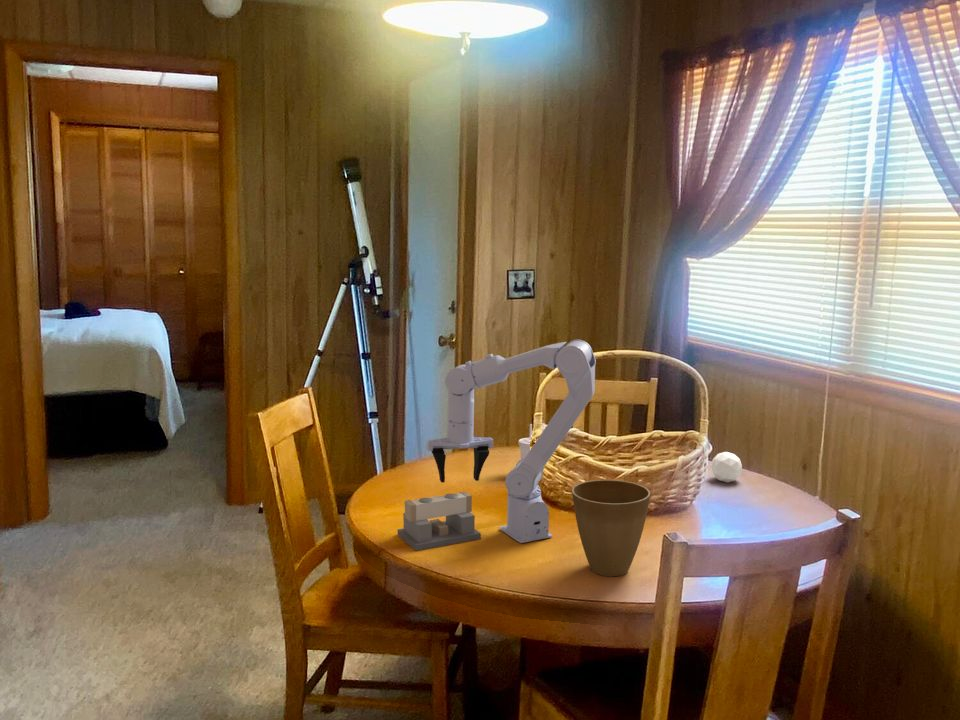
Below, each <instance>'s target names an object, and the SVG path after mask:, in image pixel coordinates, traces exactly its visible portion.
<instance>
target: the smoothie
mask: <svg viewBox="0 0 960 720" xmlns="http://www.w3.org/2000/svg"><path fill="white" fill-rule="evenodd" d="M532 430H533V424H532V423H529V437H523V438H520V439H518V442H517V443H518V446H519V451H520V454H519V455H520V460H521V459H523V458H525V457H526V455H527V454H528V452H529V451H530V441H531V435H532V434H533V431H532ZM532 436H533V435H532Z"/></svg>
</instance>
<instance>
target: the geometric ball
mask: <svg viewBox="0 0 960 720" xmlns="http://www.w3.org/2000/svg"><path fill="white" fill-rule="evenodd" d="M710 468H711V472H712V475H713V476H714V477H715V479H717V480H718V481H721V482H725V483H731V482H735V481H736V480H737V479H738V478H739V477H740V476H741V475H742V469H743V465H742V462H741V458H739V456H737V455H736V454H735V453H732V452H728V451H723V452H719V453H717V454H716V455H715V456H714V457H713V458H712V461H711V465H710Z"/></svg>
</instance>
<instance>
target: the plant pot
mask: <svg viewBox="0 0 960 720" xmlns="http://www.w3.org/2000/svg"><path fill="white" fill-rule="evenodd" d="M571 492H572V501H573V502H572V503H573V508H574V514H575V520H576V526H577V530H578V535H579V538H580V540H581V541H580V542H581V544H582V548H583V551H584V554H585V558H586V560H587V563H588V565H589V568H590V570H591V571H592V572H593V573H595V574H597V575H600V576H603V577H619V576H623V575H626V574H627V573H628V572H629V570H630V568H631V566H632V563H633V561H634V559H635V555H636V553H637V550H638V547H639V545H640V542H641V541H640V540H641V538H642V534H643V531H644V527H645V523H646V520H647V515H648V510H649V505H650V497H651V492H650V489H648V488H647V487H645V486H644V485H641V484H638V483H636V482H631V481H626V480H618V479H596V480H594V479H593V480H587V481H583V482H580V483H578V484H576V485H574V486H573V487H572V489H571Z"/></svg>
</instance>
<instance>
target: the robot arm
mask: <svg viewBox="0 0 960 720" xmlns="http://www.w3.org/2000/svg"><path fill="white" fill-rule="evenodd" d="M564 345H565V346H564ZM596 365H597V360H596V357H595V354H594V352H593V349H592V347H591V345H590V344H589V343H588V342H586V341H585V340H582V339H574V340H571V341H570V342H568V343H567V341H562V342H557V343H552V344H548V345H544V346H542V347H538V348H535V349H531V350H529V351H525V352H523V353H519V354H517V355H514V356H513V355H512V356H510V357H508V358H505V357H503V356H501V355H498V354H496V355H493V353H490V354H487V355H485V358H483V359H480V360H476V361H473V362H472V360H468V361H466V362H465V364H459V365H457V366H456V367H454V368H452V369H450V370H449V371H448V372H447V373H446V375H445V379H444V384H445V387H446V389H447V391H448V395H447V397H448V398H447V424H446V425H447V426H446V427H447V429H446V431H447V432H446V433H447V434H446V437H442V438H436V439H435V438H434V439H427V440H426V450H427V451H428V452H431V453H432V455H433V458H434V461H435V463H436V467H437V470H438V471H437V472H438V475H439V477H438V478H439V481H440V483H445V482H446V477H445V476H446V475H445V474H446V472H445V471H446V469H445V467H446V466H445V465H446V458H447V457H446V456H447V455H446V454H445V450H458V449H459V450H460V449H473V459H474V460H473V463H474V464H473V480H475V482H477V481H479V480H480V475H481V472H482V470H483V467H484V464H485V462H486V460H487V459H488V457H489V455H490V450H489V449H493V448H494V438H492V437H483V436H482V437H481V436H480V437H479V436H474V432H475V431H474V425H475V423H474V422H475V421H474V420H475V418H474V417H475V389H481V388H484V387H488V386H492V385H495V384H499V383H501V382H502V383H503V382H505V381H506V380H507V379H508V376H509V375H510V374H512V373H515V372H520V371H525V370H528V369H531V368H532V369H533V368H535V367H540V366H545V367H547V368H549V369H550V370H555V369H556V368H557V370H558V371H559V372H560V374H561V375H562V376H563V378H564V380H565V383H566V386H567V389H568V394H567V395H566V396H565V398H564V400H563V401H562V402H561V404H560V405H559V407H558V408H557V410H555V411H556V412H555V413H554V414H553V416H552V417H551V419H550V420H549V422H548V423H547V424H546V426H545V427H544V429H543V430H542V431H541V434H540V435H539V436H538V438H537V441H536V442H535V444H534V445H533V447H532V448H531V450H530V451H529V452H528V454H527V455H526V457H525V458H523V459H521V458H520V460H518V461H517V463H516V464H515V466H514V467H513V468H512V469H511V470H510V471H509V472H508V473H507V475H506V477H505V487H506V489H507V506H506V507H507V508H506V509H507V510H506V511H507V515H506V516H507V517H506V525H502V526H501V525H500V526H499V527H498V529H499V530H500V531H502V532H503V533H504V534H506V535H507V536H509V537H511V538H512V539H514V540H515V541H517V542H518V543H520V544H524V543H529V542H533V541H540V540H544V539H549V538H552V537H553V534H551V533H550V532H549V530H550V529H549V528H550V527H549V526H550V523H549V522H550V511H549V509H550V508H549V506H548V505H547V504H546V503H545V501H544V500H543V499H542V490H541V487H540V486H539V483H540V481H542V479H543V475H544V469H545V467H546V465H547V463H548V462H549V460H550V459H551V457H552V456H553V455H554V453H555V452H556V450H557V449H558V448H559V445H561V444H562V442H563V440H564V439H565V437H566V436H567V434H568V433H569V432H570V430H571V428H572V427H573V425H574V424H575V423H576V421H577V420H578V418H579V417H580V416H581V414H582V413H583V411H584V409H585V408H586V407H587V405H588V404H589V402H590V401H591V399H592V398H593V397H594V394H595V391H596V384H595V383H596Z"/></svg>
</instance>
